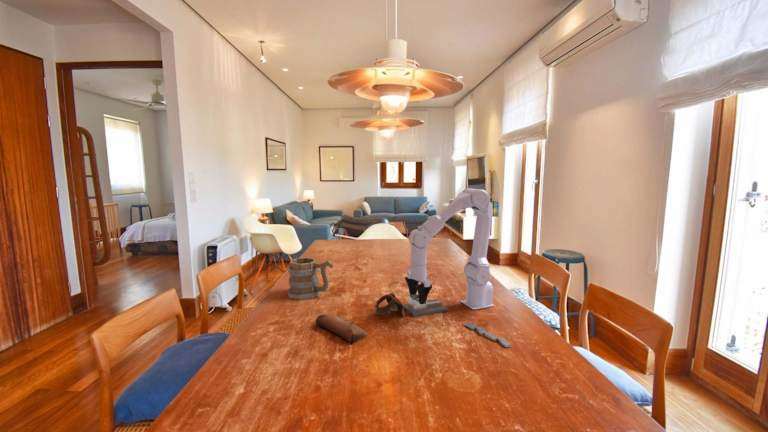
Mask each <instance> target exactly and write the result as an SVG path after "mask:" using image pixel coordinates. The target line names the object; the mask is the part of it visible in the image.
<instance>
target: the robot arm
mask: <svg viewBox="0 0 768 432" xmlns="http://www.w3.org/2000/svg"><path fill="white" fill-rule="evenodd" d="M467 208H468V209H469V208H471V210H472V211H473V212H474V213H475V214H476V218H475V219H476V221H475V225H474V226H475V227H474V234H473V240H472V249H471V255H470V256H469V257H468V258H467V260H466V264H465V266H464V267H463V274H464V275H465V276H466V284H465V285H466V289H465V299H462V300H461V301H460V302H461V303H462V304H463V305H465V306H467V307H468V308H470V309H471V310H479V309H486V308H492V307H494V303H493V301H494V300H493V299H494V287H493V284H492V282H490V279H491V271H490V267H491V266H490V262H489V261H488V259H487V255H488V249H489V242H490V235H491V234H490V233H491V229H492V228H491V227H492V222H493V215H494V214H493V213H494V209H493V207H492V203H491V195H490V194H489V193H488V192H487V191H486V190H485V189H482V188H471V187H467V188H465V189H463V190H462V191H461V192H458V194H457V196H456V197H455V198H454V199H453V200H451V202H450V203H449V204H448V205H447V206H445V208H444V209H443V210H442V211H441V212H440V213H438V214H434V215H432V216H431V215H429V216H428V217H427V220H426V221H425V222H423V223H422V224H421V225H419V226H417V229H413V230H411V232H410V233H409V236H408V241H409V243H410V262H409V264H410V265H409V266H410V268H409V269H407V270H406V275H407V276H405V277H404V280H405V282H406V284H407V288H408V292H409V295H414V294H418V296H419V303H420V304H425V303H426V300H427V301H428V297H429V293H430V292H431V290H432V289H433V285H432V284H431V281H430V279H429V278H428V275H427V255H428V251H427V250H428V249H427V248H428V246H429V245H430V243H431V239H432V238H433V237H435V236H436V235H437V234H438V233H439V232H440V231H441V230H443V229H444V227H445V223H446V222H447V221H448V220H449V219H451V218H452V217H453V216H454V215H456V214H457V213H458V212H460V210H462V209H467Z"/></svg>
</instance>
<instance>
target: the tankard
mask: <svg viewBox="0 0 768 432" xmlns="http://www.w3.org/2000/svg"><path fill="white" fill-rule="evenodd" d="M334 265H335V264H334V263H333V262H331V261H330V260H326V261H325V262H320V263H319V262H317V260H316V258H313V257H296V258H292V259H290V260H289V266H288V268H287V270H288V271H287V272H288V274H289V278H288V285H289V287H290V288H288V289H287V290H286V292H287V296H288V298H289V299H293V300H299V301H301V300H309V299H314V298H316V297H317V296H319V295H320V294H321V293H323V292H325V293H326V292H327V290H328V288H329V286H330V280H329V276H328V274H327V267H329V268H330V269H332V268H333V267H334ZM319 270H320V275H321V277H322V281H323V285H322V286H321V285H319V283H320V282H319V281H320V280H319V277H318V273H319Z"/></svg>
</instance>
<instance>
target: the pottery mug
mask: <svg viewBox="0 0 768 432" xmlns="http://www.w3.org/2000/svg"><path fill="white" fill-rule="evenodd" d="M383 301H386V302H387V304H386V305H385V306H382V307H380V304H381V303H382V302H383ZM402 304H403V303H402V301H400V299H399V298H397V297H396V295H395V293H393V292H391V293H389V294H384V295H382V296H381V297H379V299H378V300H377V301H376V304H375V313H376V315H379V316H382V315H386V314H389V315H391V313H392V312H391V309H393V310H394V309H395V310H397V312H401V314H402V318H404V317H405V309H404V308H403V305H402Z"/></svg>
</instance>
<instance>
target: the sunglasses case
mask: <svg viewBox="0 0 768 432" xmlns="http://www.w3.org/2000/svg"><path fill="white" fill-rule="evenodd" d="M315 324H316V325H317V326H318V327H321V328H324V329H326V330H328V331H329V332H331V333H333V334H335V335H337V336H338V337H340V338H342V339H344V340H346V341H347V342H349V343H351V344H353V345H354V344H356V343H358V342H360V341H362V340H363V339H365V338H367V337H368V336H370V334H369V333H368V332H367V331H366V330H364V329H363V328H361V327H360V326H358V325H356V324H355V323H352V321H351V320H350V319H347V318H344V317H340V316H336V315H331V314H320V315H318V316H317V317H316V320H315Z"/></svg>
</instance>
